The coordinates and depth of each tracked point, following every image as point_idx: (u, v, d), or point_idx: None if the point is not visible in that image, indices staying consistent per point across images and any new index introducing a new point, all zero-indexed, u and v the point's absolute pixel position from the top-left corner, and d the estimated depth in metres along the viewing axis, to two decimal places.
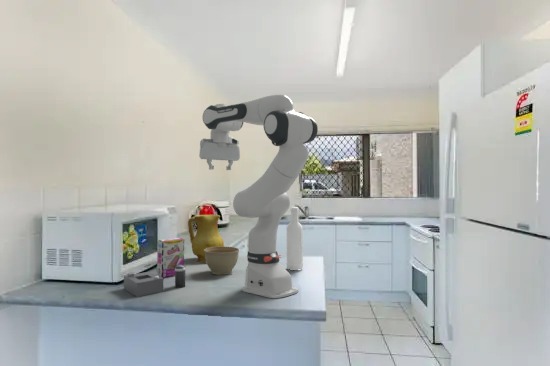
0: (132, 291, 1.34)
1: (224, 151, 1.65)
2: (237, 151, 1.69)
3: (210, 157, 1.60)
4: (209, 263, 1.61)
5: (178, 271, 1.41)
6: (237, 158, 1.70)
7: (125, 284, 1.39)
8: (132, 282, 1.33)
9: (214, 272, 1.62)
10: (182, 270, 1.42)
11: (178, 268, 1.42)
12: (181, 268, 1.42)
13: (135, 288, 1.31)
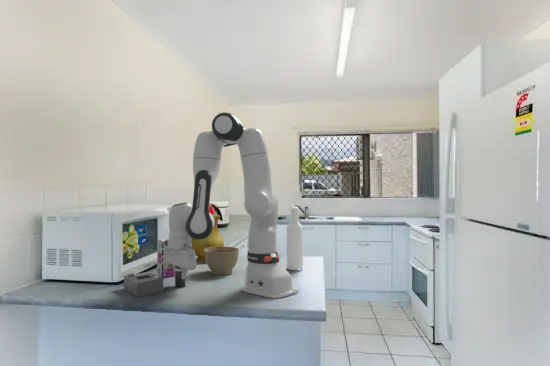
0: (132, 291, 1.34)
1: None
2: None
3: None
4: (209, 263, 1.61)
5: (178, 271, 1.41)
6: None
7: (125, 284, 1.39)
8: (132, 282, 1.33)
9: (214, 272, 1.62)
10: None
11: (178, 268, 1.42)
12: None
13: (135, 288, 1.31)
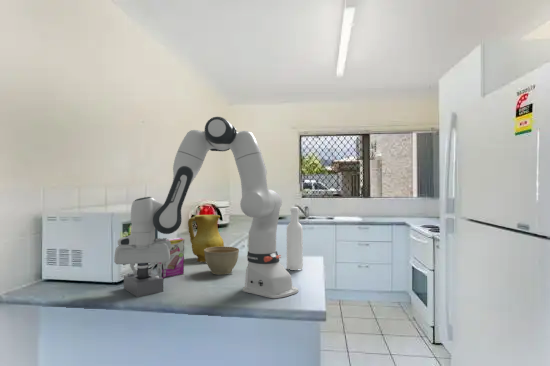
0: (132, 291, 1.34)
1: None
2: None
3: None
4: (209, 263, 1.61)
5: (144, 268, 1.37)
6: None
7: (125, 284, 1.39)
8: (132, 282, 1.33)
9: (214, 272, 1.62)
10: (147, 266, 1.38)
11: (144, 265, 1.37)
12: (147, 264, 1.38)
13: (135, 288, 1.31)
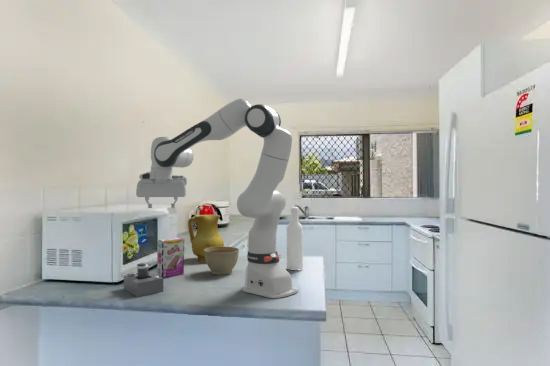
0: (132, 291, 1.34)
1: None
2: None
3: None
4: (209, 263, 1.61)
5: (145, 268, 1.37)
6: None
7: (125, 284, 1.39)
8: (132, 282, 1.33)
9: (214, 272, 1.62)
10: (147, 266, 1.39)
11: (144, 265, 1.37)
12: (147, 265, 1.38)
13: (135, 288, 1.31)
